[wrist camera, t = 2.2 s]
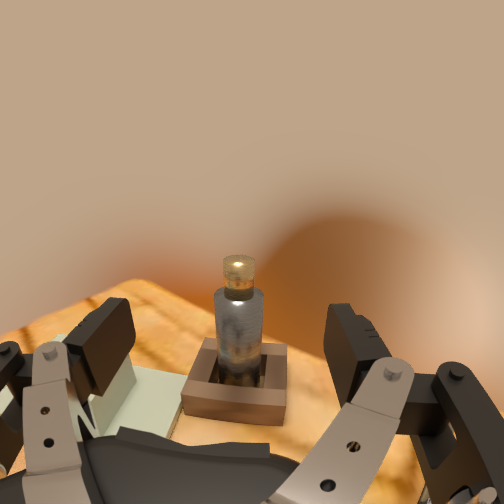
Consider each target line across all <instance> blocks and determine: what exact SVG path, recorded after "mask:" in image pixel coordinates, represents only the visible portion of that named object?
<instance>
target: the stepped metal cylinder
mask: <svg viewBox="0 0 504 504" xmlns="http://www.w3.org/2000/svg"><path fill="white" fill-rule="evenodd" d="M223 269H224V287H222V288H220V289H218V290H217V291H216V292H215V294H214V302H215V322H216V340H217V356H218V370H219V384H223V385H232V386H241V387H252V388H260V367H261V346H262V322H263V298H264V295H263V292H262V291H261V290H260V289H258V288H256V287H254V258H252V257H250V256H245V255H232V256H228V257H226V258H224V260H223Z"/></svg>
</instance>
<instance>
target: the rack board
mask: <svg viewBox="0 0 504 504" xmlns="http://www.w3.org/2000/svg"><path fill="white" fill-rule="evenodd" d="M67 336H68V335H65V334H62V333H60V334H58V335H57V336H56V337H55V338H54V339H53V340H52V341H59V342H62V341H63V340H64V339H65V338H66V337H67ZM187 377H188V376H187V375H181V374H175V373H170V372H164V371H159V370H154V369H149V368H145V367H140V366H136V365H132V363H131V360H130V356H129V353H128V355H127V357H126V358H125V360H124V362H123V363H122V365H121V367H120V368H119V370H118V371H117V373H116V375H115V376H114V378H113V380H112V381H111V383H110V385H109V387H108V388H107V390H106V392H105V393H104V395H103V397H101V396H97V395H93V394H90V396H89V397H88V398H89V400H90V402H91V406H92V409H93V413H94V417H95V420H96V423H97V427H98V430H99V433H100V436H108V435H116V434H117V432H118V430H119V427H120V426H123V427H127V428H131V429H136V430H141V431H146V432H151V433H154V434H157V435H159V436H162V437H164V438H167V439H170V436H171V434H172V432H173V429H174V427H175V424H176V422H177V419H178V417H179V414H180V412H181V409H182V407H183V404H182V400H181V395H180V393H181V391H182V389H183V387H184V384H185V382H186V380H187ZM13 398H14V397H13V395H12V394H11V392H10V390H9V389H8V387H7V386H6V387H5V388H4V389H3V390H2V391H1V392H0V416H1V414H2V413H3V412H4V410H5V409H6V407H7V406H8V404H9V403H10V402H11V400H12V399H13Z"/></svg>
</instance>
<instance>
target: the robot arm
mask: <svg viewBox="0 0 504 504" xmlns="http://www.w3.org/2000/svg"><path fill="white" fill-rule="evenodd" d="M135 338H136V333H135V328H134V323H133V319H132V314H131V309H130V304H129V301H128V300H127V299H126V298H113V297H110V298H108V299H107V300H106V301H105V302H104V303H103V304H102V305H101V306H100V307H99V308H97V309H96V310H94V311H92V312H90V313H89V314H88V315H87V316H86V317H85V318H84V319H83V321H81V322H80V323H79V324H78V326H76V327H75V328H74V329H73V330H72V331H71V332H70V333H69V334H68V336H67V337H66V338H65V339H64V340H63V341H62V342H59V341H51V342H47V343H44V344H42V345H41V346H39V347H38V348H37V349H36V350H35V352H34V354H22V352H21V349H20V347H19V345H18V343H16V342H14V341H7V342H4V343H1V344H0V392H1V390H2V389H3V388H4V386H5V385H7V387H8V389H9V390H10V392H11V394H12V395H13V397H14V398H13V399H12V400H11V402H10V403H9V404H8V406H7V407H6V409H5V410H4V412H3V413H2V414H1V416H0V504H359V503H360V502H361V500H362V498H363V497H364V495H365V493H366V492H367V490H368V488H369V486H370V485H371V483H372V481H373V479H374V477H375V475H376V473H377V472H378V470H379V468H380V466H381V464H382V462H383V460H384V458H385V455H386V453H387V451H388V449H389V447H390V445H391V442H392V440H393V438H394V436H395V434H402V435H410V438H411V441H412V443H413V446H414V449H415V452H416V455H417V458H418V461H419V464H420V467H421V470H422V473H423V476H424V480H425V483H426V486H427V489H428V493H429V496H430V500H431V503H432V504H504V419H503V417H502V416H501V414H500V413H499V411H498V409H497V408H496V406H495V405H494V403H493V402H492V400H491V399H490V397H489V396H488V394H487V393H486V391H485V390H484V388H483V387H482V386H481V384H480V383H479V381H478V380H477V378H476V377H475V375H474V374H473V373H472V371H471V370H470V369H469V368H468V367H466V366H465V365H463V364H461V363H457V362H445V363H443V364H441V365H440V366H439V368H438V370H437V372H436V374H419V373H414V370H413V368H412V367H411V365H410V364H408V363H407V362H405V361H404V360H402V359H399V358H393V357H392V355H391V354H390V352H389V351H388V349H387V347H386V345H385V344H384V342H383V341H382V339H381V338H380V337H379V334H378V333H377V331H375V328H374V326H373V325H372V323H371V322H370V321H369V320H368V319H366V318H365V317H364V316H362V315H355V313H354V311H353V309H352V308H351V306H350V304H348V303H340V304H330V305H329V307H328V312H327V320H326V327H325V333H324V353H325V356H326V359H327V363H328V366H329V369H330V373H331V376H332V379H333V383H334V386H335V389H336V393H337V396H338V400H339V403H340V407H341V410H340V412H339V413H338V414H337V416H336V417H335V419H334V420H333V422H332V423H331V424H330V426H329V427H328V429H327V430H326V431H325V433H324V434H323V435H322V437H321V438H320V439H319V441H318V442H317V443H316V445H315V446H314V447H313V449H312V450H311V451H310V452H309V454H308V455H307V456H306V457H305V459H304V460H303V461H302V462H301V463H299V462H297V461H295V460H292V459H290V458H287V457H284V456H280V455H277V454H272V453H270V445H269V443H239V442H227V443H219V444H211V445H201V446H186V445H182V444H180V443H177V442H174V441H172V440H169V439H167V438H164V437H162V436H159V435H157V434H154V433H151V432H146V431H141V430H136V429H131V428H127V427H123V426H120V427H119V430H118V432H117V434H116V435H108V436H100V433H99V430H98V427H97V423H96V420H95V417H94V413H93V409H92V406H91V402H90V400H89V398H88V397H89V396H90V394H93V395H97V396H101V397H103V395H104V393H105V392H106V390H107V388H108V387H109V385H110V383H111V381H112V380H113V378H114V376H115V375H116V373H117V371H118V370H119V368H120V367H121V365H122V363H123V362H124V360H125V358H126V357H127V355H128V353H129V352H130V350H131V349H132V347H133V345H134V343H135ZM449 423H450V424H451V426H452V428H453V430H454V432H455V434H456V439H455V437H454V435H453V432H452V430H451V428H450V426H449ZM23 445H24V450H25V460H26V469H24V470H22V471H20V472H17V473H15V474H12V475H10V476H7V475H8V473H9V471H10V469H11V467H12V465H13V463H14V461H15V459H16V457H17V455H18V454H19V452H20V450H21V448H22V446H23Z"/></svg>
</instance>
